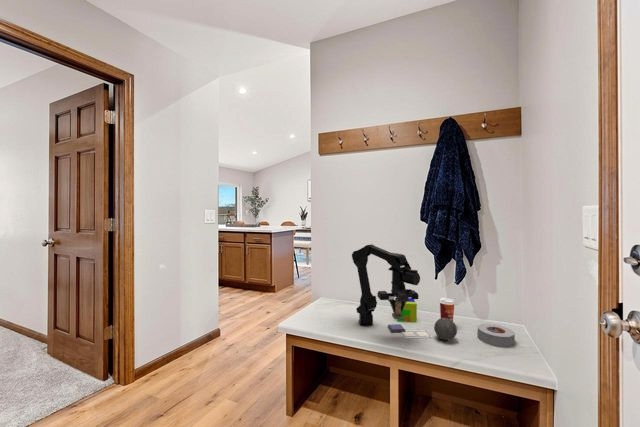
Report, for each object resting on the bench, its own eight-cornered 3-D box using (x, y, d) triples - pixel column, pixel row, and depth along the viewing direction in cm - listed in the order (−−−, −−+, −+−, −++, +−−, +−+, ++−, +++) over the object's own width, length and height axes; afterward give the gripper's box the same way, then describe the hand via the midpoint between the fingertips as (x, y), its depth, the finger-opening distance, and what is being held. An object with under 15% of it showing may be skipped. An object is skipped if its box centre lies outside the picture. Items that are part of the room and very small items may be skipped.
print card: (405, 338, 149) (405, 337, 149) (400, 331, 157) (400, 330, 157) (432, 337, 150) (432, 337, 150) (425, 330, 157) (425, 330, 157)
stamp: (394, 319, 148) (395, 301, 148) (392, 315, 152) (392, 298, 152) (402, 318, 149) (403, 300, 148) (399, 315, 153) (400, 298, 152)
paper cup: (447, 330, 158) (448, 303, 157) (435, 324, 165) (436, 298, 164) (458, 327, 162) (458, 300, 161) (445, 322, 169) (446, 296, 168)
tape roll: (493, 331, 157) (493, 321, 157) (522, 344, 143) (522, 333, 143) (470, 335, 152) (470, 325, 152) (497, 350, 138) (498, 338, 137)
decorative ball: (436, 343, 144) (436, 321, 143) (432, 333, 154) (432, 314, 153) (459, 344, 142) (459, 323, 142) (453, 335, 152) (454, 315, 151)
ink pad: (391, 332, 155) (391, 329, 155) (387, 327, 162) (387, 324, 162) (405, 332, 155) (405, 329, 155) (400, 326, 162) (400, 323, 162)
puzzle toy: (412, 315, 179) (413, 298, 178) (416, 322, 169) (416, 304, 168) (395, 314, 180) (395, 297, 179) (397, 321, 170) (397, 303, 169)
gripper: (384, 285, 141) (383, 319, 142) (423, 285, 142) (423, 318, 143) (377, 279, 152) (376, 310, 153) (414, 278, 153) (413, 309, 154)
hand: (397, 312), depth 150 cm, fingers closed on stamp, 3 cm apart
